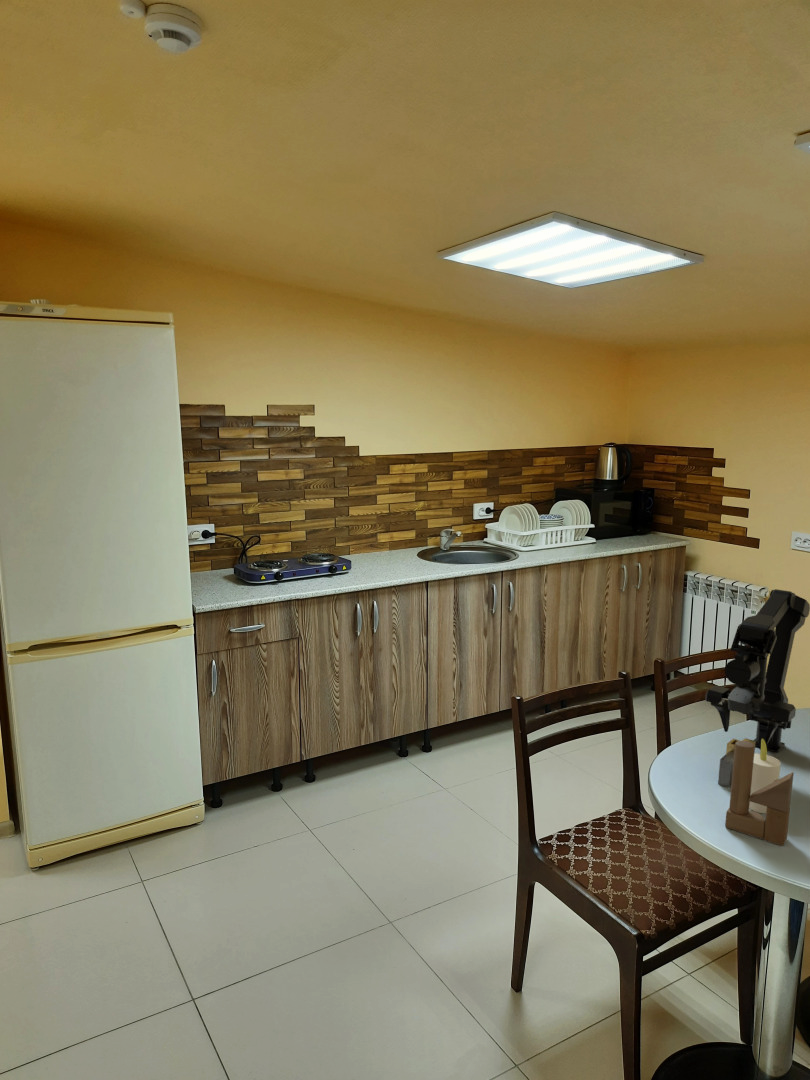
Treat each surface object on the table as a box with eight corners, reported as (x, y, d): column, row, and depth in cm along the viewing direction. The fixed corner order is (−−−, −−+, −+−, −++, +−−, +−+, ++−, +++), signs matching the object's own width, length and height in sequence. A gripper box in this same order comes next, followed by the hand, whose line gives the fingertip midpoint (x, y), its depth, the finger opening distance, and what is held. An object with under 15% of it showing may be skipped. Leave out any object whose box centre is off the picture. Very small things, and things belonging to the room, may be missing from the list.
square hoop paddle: (739, 760, 176) (742, 731, 175) (756, 765, 173) (759, 736, 172) (724, 773, 169) (727, 743, 168) (742, 779, 166) (744, 748, 165)
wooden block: (783, 847, 139) (792, 760, 136) (724, 827, 146) (732, 744, 143) (787, 839, 142) (796, 753, 139) (729, 820, 148) (736, 738, 146)
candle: (765, 816, 150) (772, 749, 148) (737, 802, 156) (743, 737, 153) (783, 809, 153) (789, 743, 151) (754, 795, 159) (761, 731, 156)
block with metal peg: (731, 767, 172) (733, 738, 171) (748, 773, 169) (751, 743, 168) (714, 782, 164) (717, 751, 163) (732, 788, 162) (735, 757, 161)
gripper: (698, 672, 169) (693, 735, 172) (784, 693, 157) (777, 760, 159) (716, 662, 177) (711, 722, 180) (799, 681, 165) (792, 745, 167)
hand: (746, 737), depth 171 cm, fingers open, 9 cm apart
